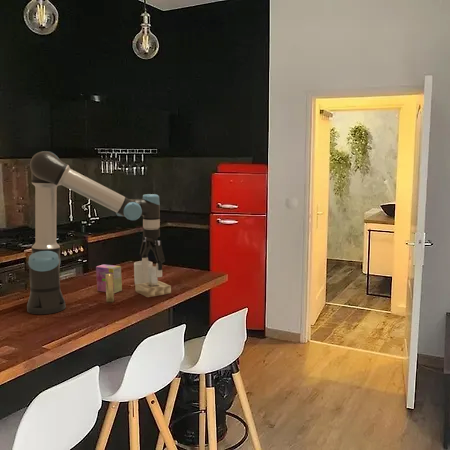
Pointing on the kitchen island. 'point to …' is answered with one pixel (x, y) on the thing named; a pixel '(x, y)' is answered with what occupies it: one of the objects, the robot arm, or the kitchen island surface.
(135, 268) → the mug
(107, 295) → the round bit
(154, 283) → the square bit
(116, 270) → the box
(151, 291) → the socket block
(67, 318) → the kitchen island surface
